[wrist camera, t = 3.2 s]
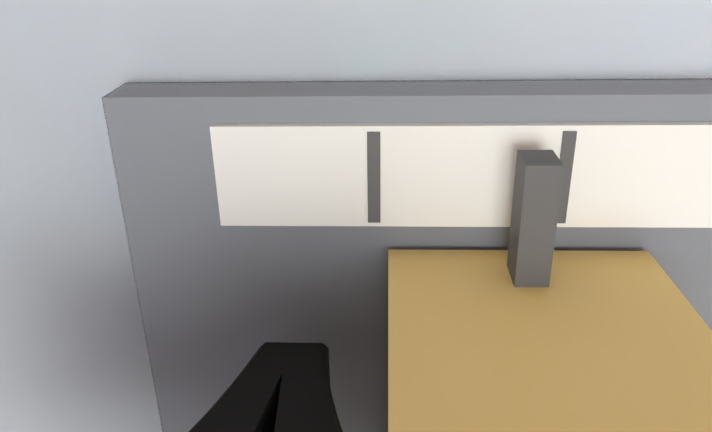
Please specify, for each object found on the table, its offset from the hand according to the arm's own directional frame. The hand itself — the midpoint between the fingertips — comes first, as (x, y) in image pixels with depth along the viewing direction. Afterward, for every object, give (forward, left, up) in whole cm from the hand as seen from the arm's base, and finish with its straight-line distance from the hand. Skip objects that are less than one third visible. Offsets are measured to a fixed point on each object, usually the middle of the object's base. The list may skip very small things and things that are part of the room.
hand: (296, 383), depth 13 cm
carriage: (+1, -4, -1) cm, 5 cm away
